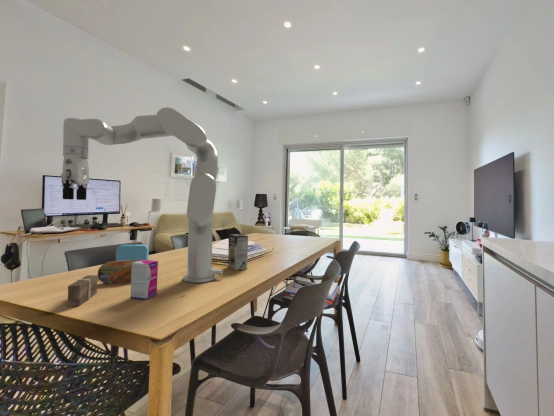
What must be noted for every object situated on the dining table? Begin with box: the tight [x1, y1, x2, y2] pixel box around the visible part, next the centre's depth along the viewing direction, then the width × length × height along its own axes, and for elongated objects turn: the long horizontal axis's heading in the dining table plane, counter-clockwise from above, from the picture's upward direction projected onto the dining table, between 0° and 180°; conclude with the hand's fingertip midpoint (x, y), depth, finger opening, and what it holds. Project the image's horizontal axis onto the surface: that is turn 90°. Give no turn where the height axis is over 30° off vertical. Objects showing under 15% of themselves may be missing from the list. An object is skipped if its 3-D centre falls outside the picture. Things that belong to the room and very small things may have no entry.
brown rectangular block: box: [67, 274, 98, 308], centre depth 85 cm, size 3×12×6 cm, turn 13°
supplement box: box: [129, 260, 159, 301], centre depth 88 cm, size 6×6×12 cm
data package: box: [115, 243, 150, 261], centre depth 119 cm, size 12×4×12 cm, turn 105°
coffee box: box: [227, 233, 249, 271], centre depth 132 cm, size 9×6×16 cm
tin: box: [97, 260, 137, 285], centre depth 104 cm, size 15×3×8 cm, turn 117°
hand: (75, 199), depth 100 cm, fingers open, 9 cm apart
